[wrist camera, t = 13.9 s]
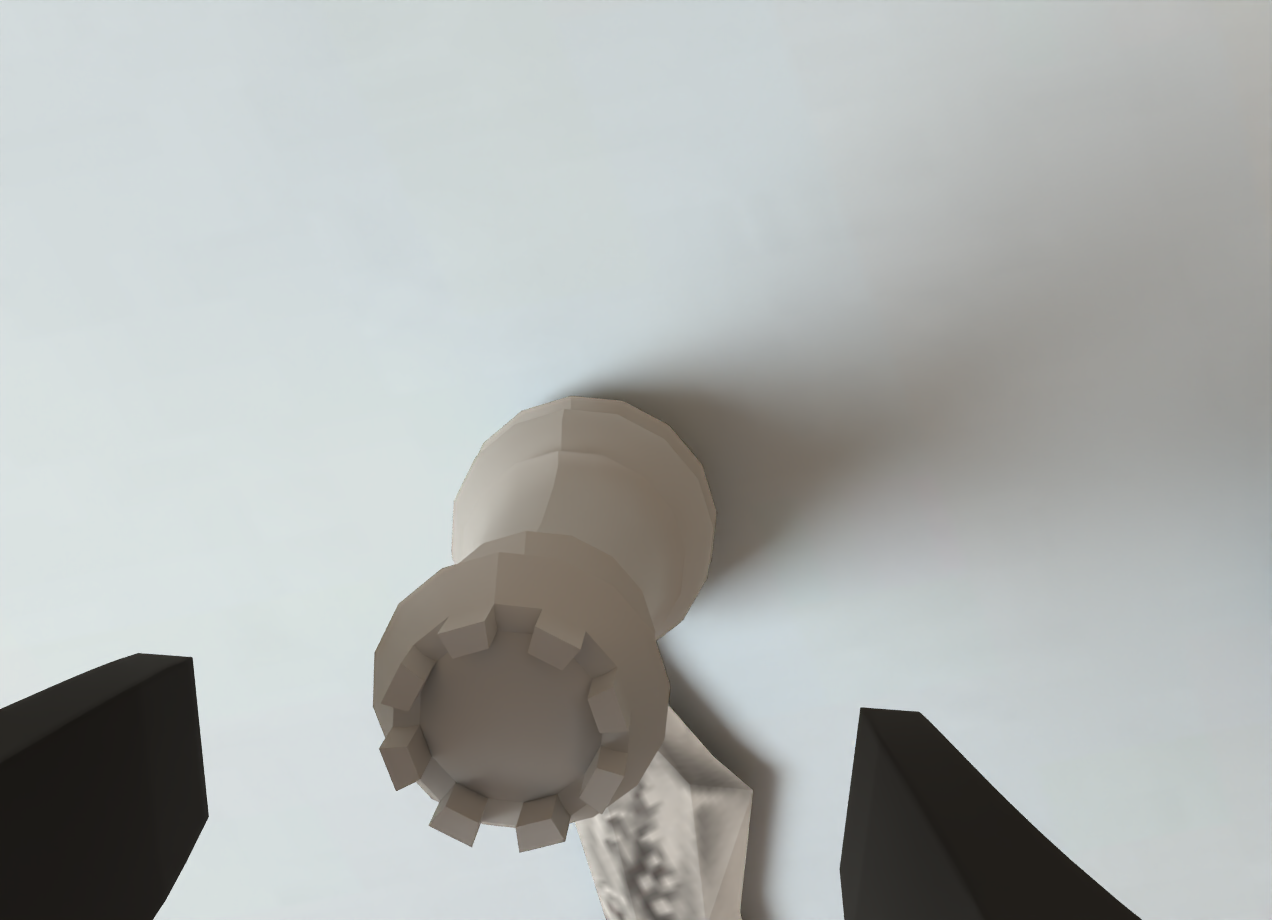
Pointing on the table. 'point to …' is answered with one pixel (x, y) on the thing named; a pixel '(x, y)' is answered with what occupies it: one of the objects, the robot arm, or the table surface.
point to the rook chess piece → (547, 623)
